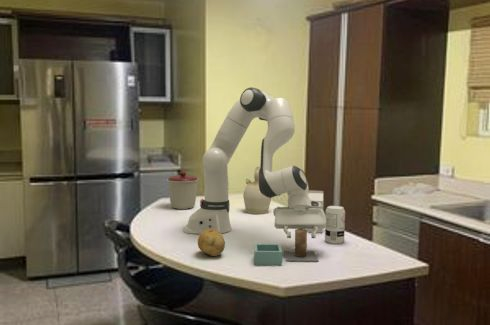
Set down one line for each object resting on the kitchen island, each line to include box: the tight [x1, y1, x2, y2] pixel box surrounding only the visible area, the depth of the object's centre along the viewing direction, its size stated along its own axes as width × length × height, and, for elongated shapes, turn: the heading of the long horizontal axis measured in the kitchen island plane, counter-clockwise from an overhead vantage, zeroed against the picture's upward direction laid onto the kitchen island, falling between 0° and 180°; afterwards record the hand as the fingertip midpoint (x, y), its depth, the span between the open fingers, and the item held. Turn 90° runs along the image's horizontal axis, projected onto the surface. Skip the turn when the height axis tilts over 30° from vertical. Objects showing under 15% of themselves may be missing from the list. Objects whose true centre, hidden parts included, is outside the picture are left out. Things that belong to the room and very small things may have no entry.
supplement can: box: [324, 205, 346, 245], centre depth 208 cm, size 8×8×15 cm
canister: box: [166, 170, 200, 210], centre depth 275 cm, size 18×18×21 cm
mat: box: [283, 250, 319, 263], centre depth 187 cm, size 12×12×1 cm
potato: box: [197, 229, 226, 257], centre depth 189 cm, size 10×12×10 cm
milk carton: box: [306, 189, 324, 234], centre depth 226 cm, size 7×7×19 cm
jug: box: [242, 166, 272, 215], centre depth 265 cm, size 15×16×25 cm
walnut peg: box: [294, 229, 308, 257], centre depth 187 cm, size 4×4×10 cm
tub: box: [253, 243, 283, 266], centre depth 182 cm, size 10×10×5 cm
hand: (301, 237), depth 186 cm, fingers open, 8 cm apart
